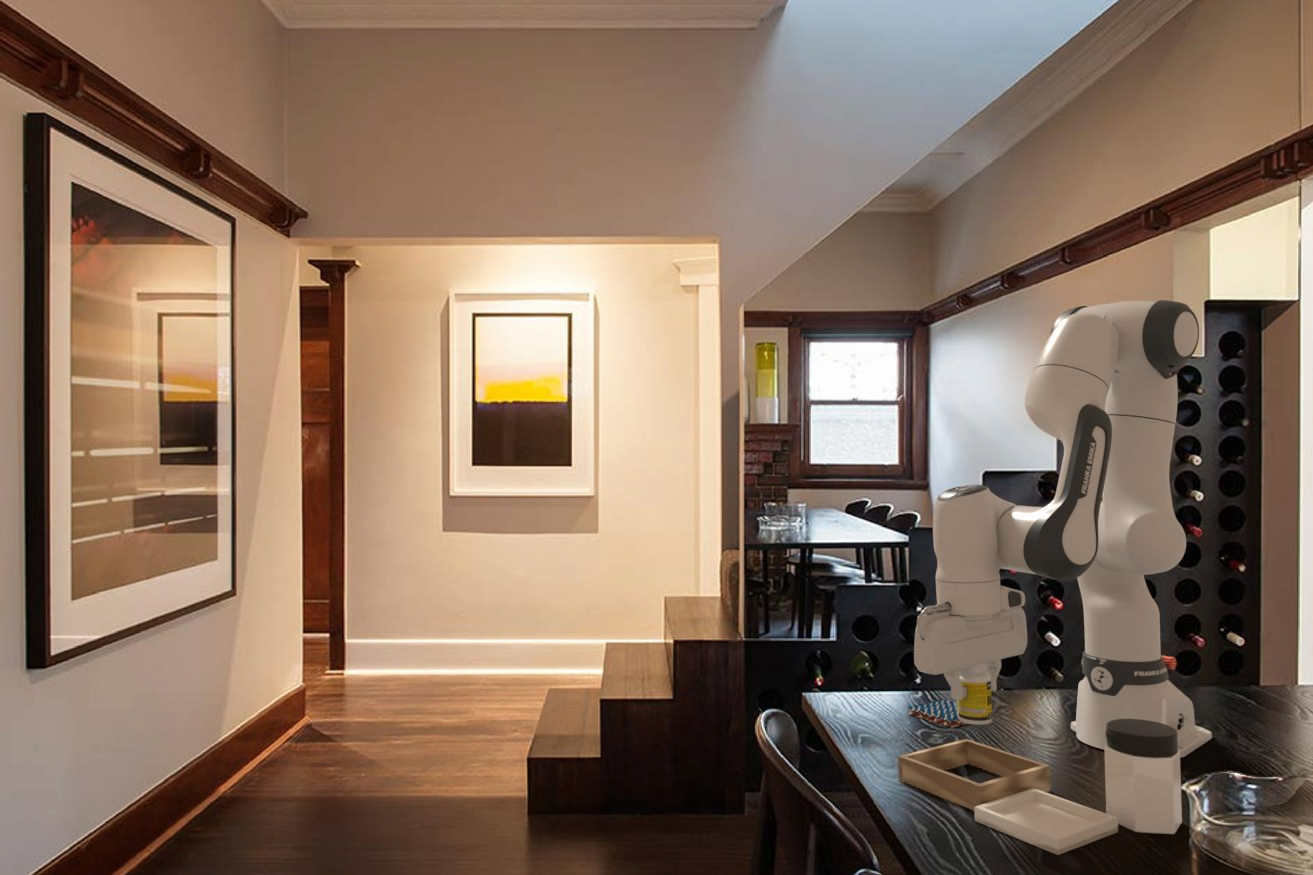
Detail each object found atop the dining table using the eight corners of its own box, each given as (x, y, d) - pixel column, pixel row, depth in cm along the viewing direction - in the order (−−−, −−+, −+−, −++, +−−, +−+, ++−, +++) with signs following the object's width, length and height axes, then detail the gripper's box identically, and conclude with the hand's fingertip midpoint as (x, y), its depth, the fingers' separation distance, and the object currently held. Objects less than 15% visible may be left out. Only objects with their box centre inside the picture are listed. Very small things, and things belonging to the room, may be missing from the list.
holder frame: (966, 761, 139) (966, 738, 139) (1050, 790, 126) (1050, 765, 126) (898, 780, 131) (898, 756, 132) (981, 813, 119) (980, 786, 119)
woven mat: (953, 731, 156) (952, 719, 156) (905, 717, 165) (905, 706, 165) (991, 721, 162) (991, 709, 162) (943, 708, 170) (943, 697, 170)
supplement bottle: (995, 725, 127) (992, 665, 127) (960, 725, 128) (957, 665, 128) (989, 715, 131) (987, 657, 132) (956, 715, 132) (953, 657, 132)
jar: (1117, 803, 122) (1115, 713, 122) (1186, 818, 116) (1183, 724, 117) (1099, 824, 115) (1097, 729, 115) (1172, 841, 109) (1169, 741, 110)
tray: (1034, 801, 123) (1033, 787, 123) (1118, 831, 112) (1117, 817, 112) (974, 820, 116) (974, 806, 117) (1057, 854, 106) (1057, 839, 106)
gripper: (935, 610, 122) (941, 713, 122) (1032, 592, 132) (1038, 686, 132) (900, 605, 127) (906, 703, 127) (996, 588, 138) (1002, 678, 137)
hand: (974, 694), depth 130 cm, fingers closed on supplement bottle, 5 cm apart
